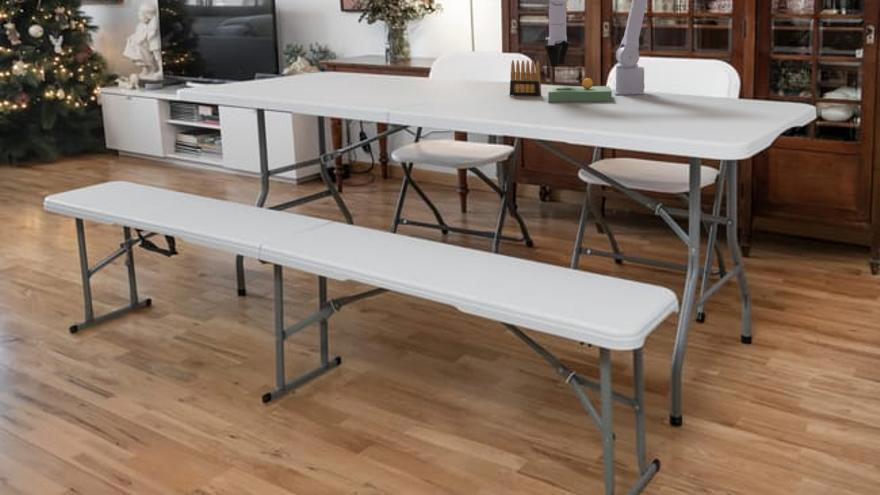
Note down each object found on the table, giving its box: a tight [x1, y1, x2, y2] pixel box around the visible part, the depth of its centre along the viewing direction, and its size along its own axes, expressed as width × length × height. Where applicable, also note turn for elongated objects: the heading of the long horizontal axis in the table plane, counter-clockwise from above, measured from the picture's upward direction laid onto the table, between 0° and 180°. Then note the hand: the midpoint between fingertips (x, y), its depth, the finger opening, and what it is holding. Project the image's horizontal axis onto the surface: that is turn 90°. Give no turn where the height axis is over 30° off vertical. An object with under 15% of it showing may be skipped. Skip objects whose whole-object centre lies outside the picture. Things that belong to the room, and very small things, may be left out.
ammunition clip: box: [509, 59, 542, 97], centre depth 336 cm, size 11×2×12 cm, turn 67°
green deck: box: [547, 85, 613, 103], centre depth 325 cm, size 20×14×3 cm
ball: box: [581, 77, 594, 89], centre depth 324 cm, size 4×4×4 cm
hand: (557, 65), depth 333 cm, fingers open, 7 cm apart
